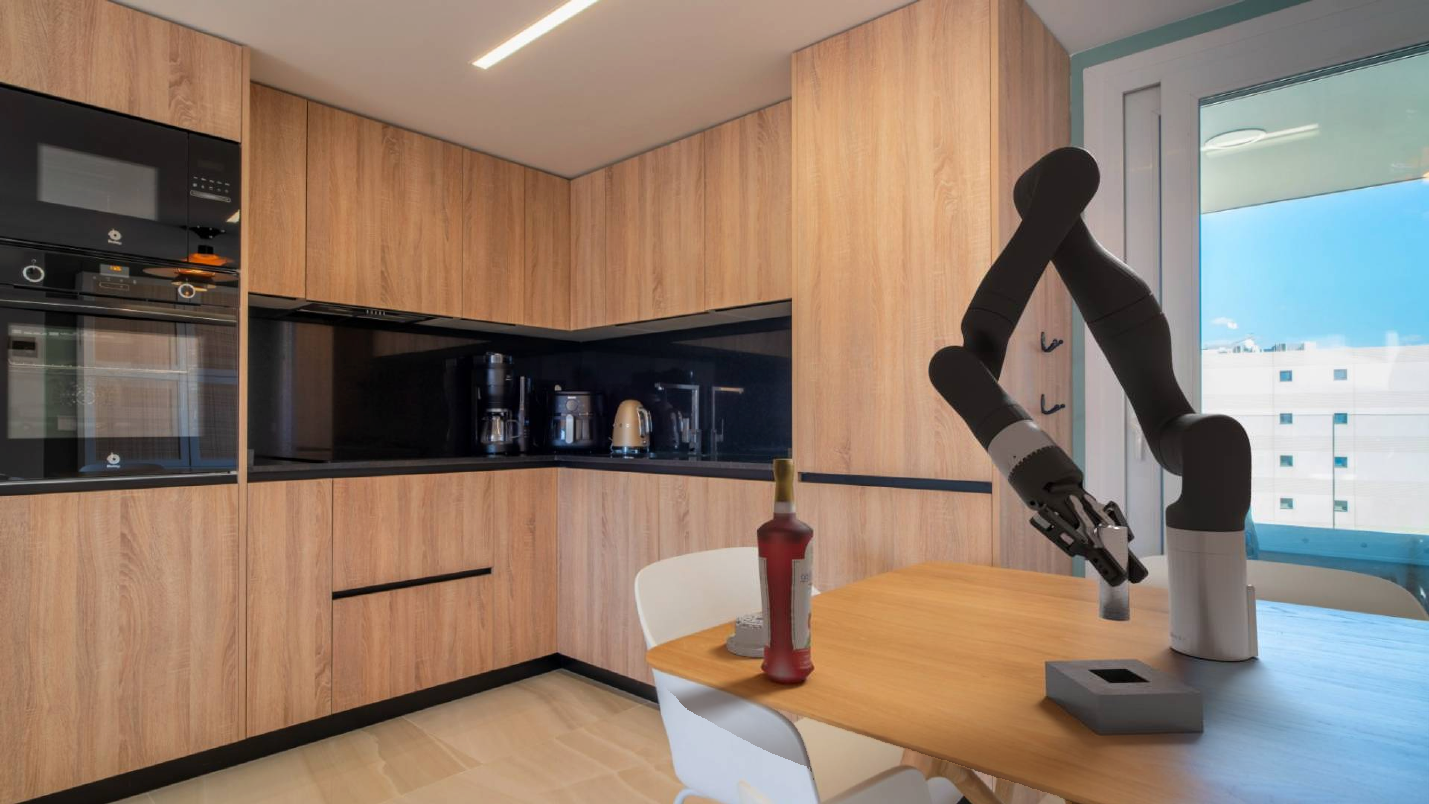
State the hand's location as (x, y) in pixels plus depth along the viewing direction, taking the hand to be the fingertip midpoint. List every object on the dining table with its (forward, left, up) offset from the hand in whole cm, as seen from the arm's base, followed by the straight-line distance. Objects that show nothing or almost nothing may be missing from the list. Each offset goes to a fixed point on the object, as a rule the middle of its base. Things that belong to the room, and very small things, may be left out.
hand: (1131, 580), depth 78 cm
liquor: (+36, -16, -15) cm, 42 cm away
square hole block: (+1, -2, -15) cm, 15 cm away
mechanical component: (+38, -29, -15) cm, 50 cm away
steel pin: (+1, -2, -4) cm, 5 cm away
